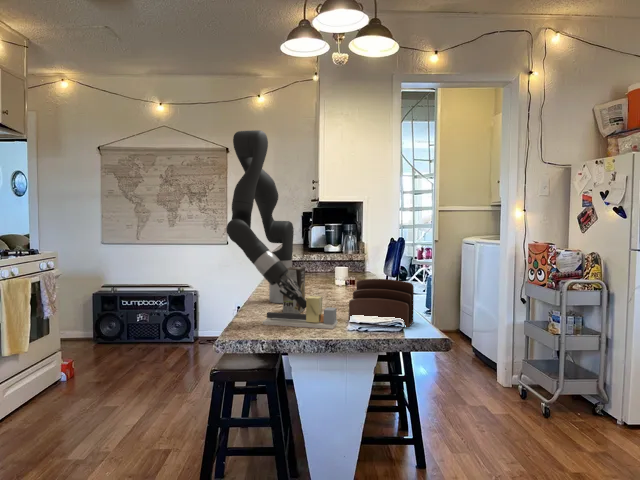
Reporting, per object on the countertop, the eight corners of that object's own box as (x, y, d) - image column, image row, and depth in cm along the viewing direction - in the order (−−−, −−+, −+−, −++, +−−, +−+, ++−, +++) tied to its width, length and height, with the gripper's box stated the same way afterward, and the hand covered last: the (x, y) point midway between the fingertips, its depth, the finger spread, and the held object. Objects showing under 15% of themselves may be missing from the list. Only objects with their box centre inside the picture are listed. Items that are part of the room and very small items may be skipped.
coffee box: (299, 314, 162) (300, 269, 161) (282, 313, 163) (282, 268, 162) (305, 309, 171) (305, 266, 170) (289, 308, 172) (289, 266, 171)
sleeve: (310, 318, 149) (310, 295, 148) (322, 319, 148) (322, 296, 148) (306, 321, 144) (306, 298, 143) (318, 322, 143) (318, 298, 142)
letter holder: (356, 317, 159) (357, 277, 158) (413, 322, 152) (414, 280, 151) (348, 323, 149) (348, 280, 149) (408, 328, 143) (409, 284, 142)
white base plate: (270, 319, 153) (270, 303, 153) (337, 323, 148) (337, 306, 148) (262, 324, 145) (262, 307, 145) (332, 328, 140) (333, 311, 140)
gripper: (272, 261, 141) (309, 302, 139) (284, 258, 154) (319, 296, 152) (256, 277, 143) (292, 318, 140) (269, 273, 155) (303, 310, 153)
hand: (306, 306), depth 146 cm, fingers closed
